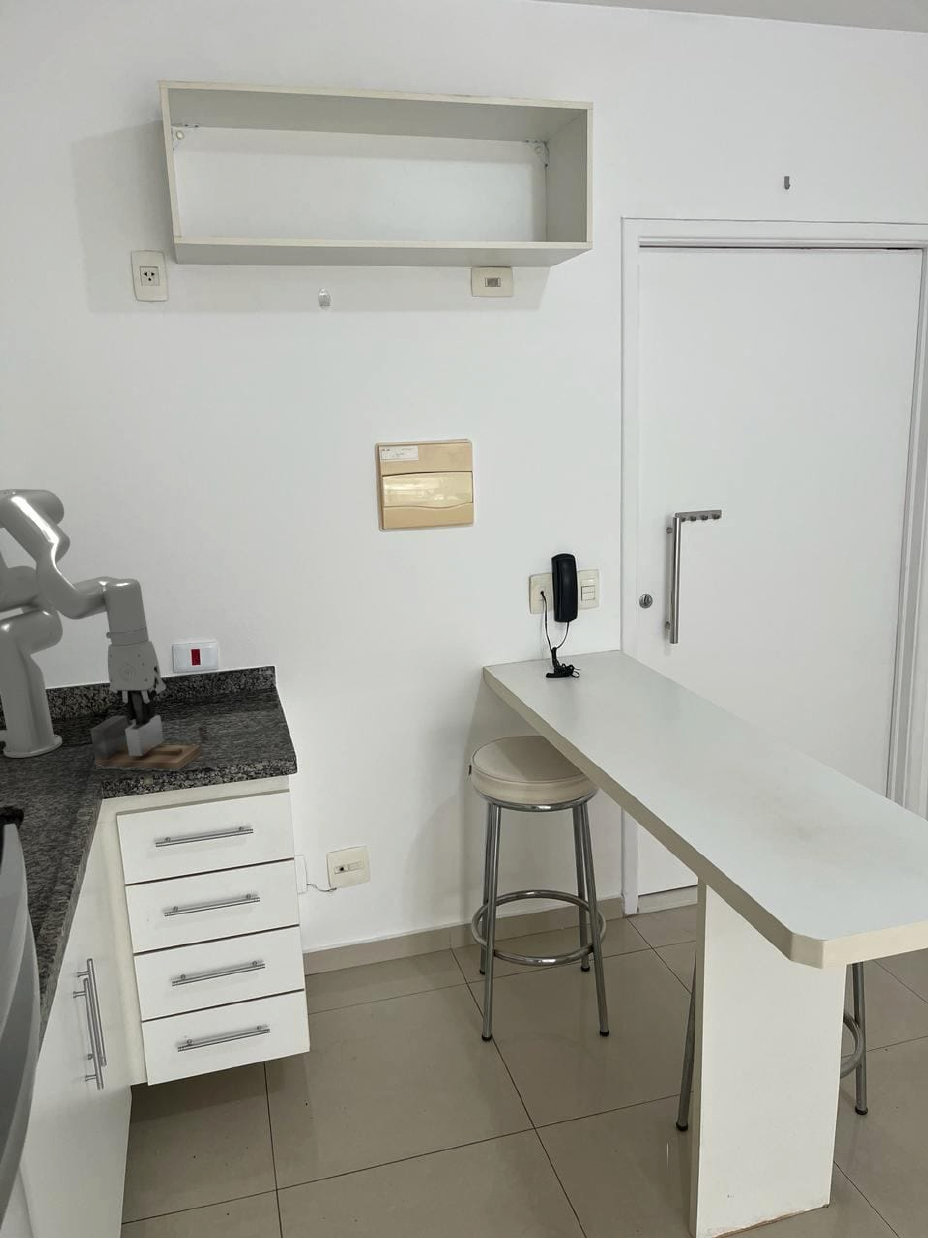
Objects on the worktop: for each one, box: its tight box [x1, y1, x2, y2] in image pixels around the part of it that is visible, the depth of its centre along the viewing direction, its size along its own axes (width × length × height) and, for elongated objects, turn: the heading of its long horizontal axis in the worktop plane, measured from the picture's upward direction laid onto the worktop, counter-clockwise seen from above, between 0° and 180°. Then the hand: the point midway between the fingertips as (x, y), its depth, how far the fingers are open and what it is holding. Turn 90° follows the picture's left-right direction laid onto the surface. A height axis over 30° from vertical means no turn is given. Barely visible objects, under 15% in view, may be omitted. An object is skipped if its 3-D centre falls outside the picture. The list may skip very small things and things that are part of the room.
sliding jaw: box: [125, 691, 165, 756], centre depth 204 cm, size 3×9×14 cm, turn 167°
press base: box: [90, 715, 202, 770], centre depth 206 cm, size 20×10×9 cm, turn 77°
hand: (142, 717), depth 204 cm, fingers closed on sliding jaw, 3 cm apart
